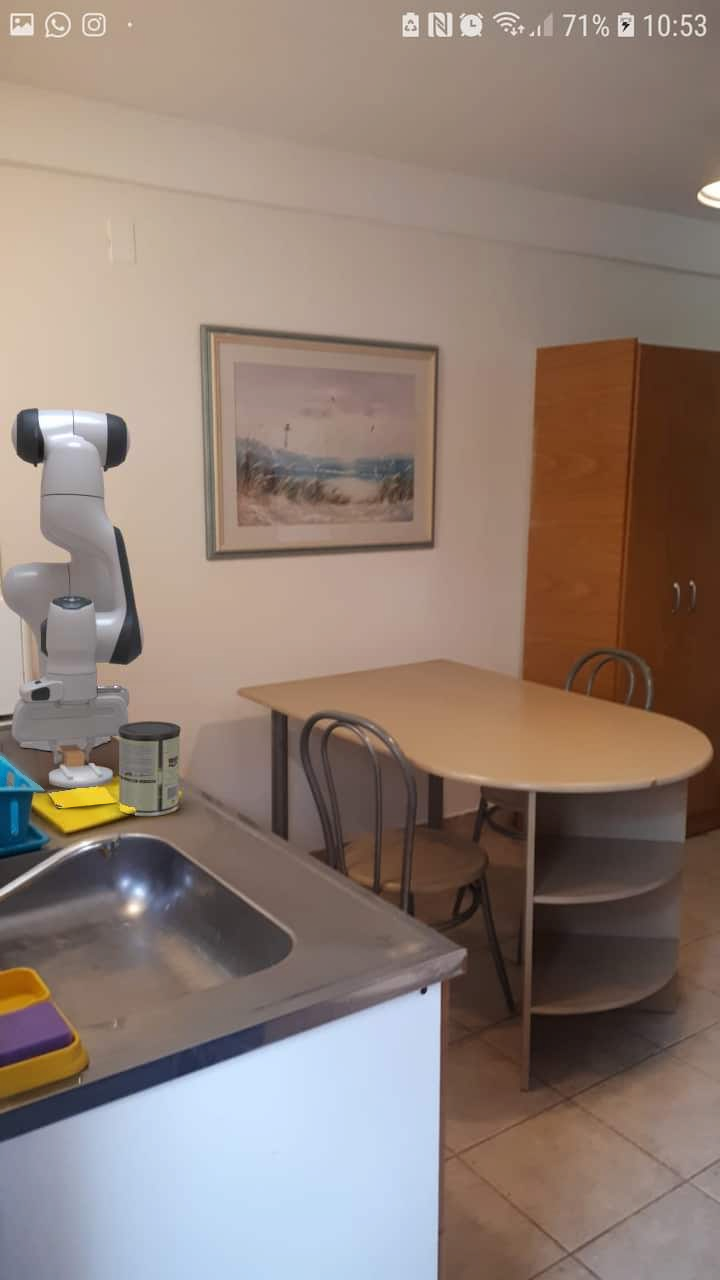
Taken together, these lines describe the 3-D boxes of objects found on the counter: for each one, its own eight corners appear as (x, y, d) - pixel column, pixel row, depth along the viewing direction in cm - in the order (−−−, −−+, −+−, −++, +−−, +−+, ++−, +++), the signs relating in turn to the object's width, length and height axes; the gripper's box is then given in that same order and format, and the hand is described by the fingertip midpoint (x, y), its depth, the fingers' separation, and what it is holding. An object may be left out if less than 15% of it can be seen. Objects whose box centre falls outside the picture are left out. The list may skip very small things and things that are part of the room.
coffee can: (124, 797, 168) (125, 720, 166) (183, 799, 168) (184, 722, 167) (111, 816, 158) (112, 733, 156) (173, 817, 158) (175, 735, 157)
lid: (38, 765, 173) (38, 746, 173) (97, 761, 178) (97, 742, 177) (54, 790, 158) (54, 770, 157) (118, 784, 163) (119, 765, 162)
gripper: (125, 682, 178) (124, 753, 180) (10, 686, 169) (10, 762, 171) (133, 687, 173) (132, 761, 174) (15, 692, 163) (15, 771, 165)
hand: (71, 762), depth 172 cm, fingers closed on lid, 3 cm apart
